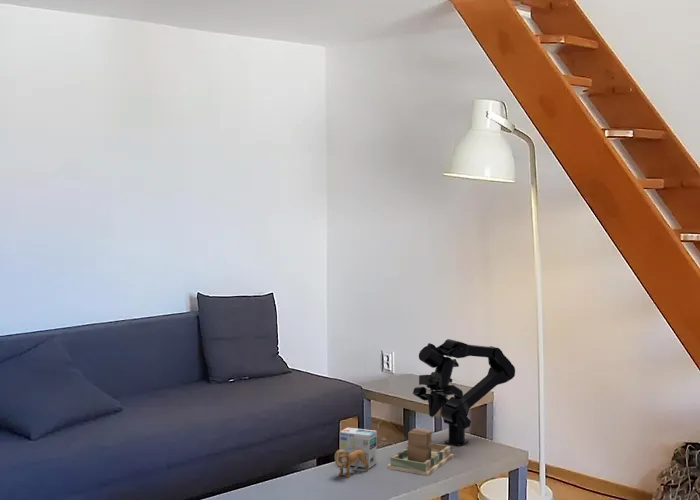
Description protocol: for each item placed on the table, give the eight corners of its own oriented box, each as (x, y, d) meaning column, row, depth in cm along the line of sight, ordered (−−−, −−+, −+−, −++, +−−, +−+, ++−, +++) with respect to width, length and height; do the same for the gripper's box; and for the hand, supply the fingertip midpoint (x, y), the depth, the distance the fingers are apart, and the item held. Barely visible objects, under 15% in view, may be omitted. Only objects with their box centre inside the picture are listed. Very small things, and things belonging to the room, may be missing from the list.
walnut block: (414, 455, 273) (414, 428, 273) (431, 458, 271) (431, 431, 270) (407, 459, 269) (408, 432, 268) (424, 462, 266) (425, 435, 266)
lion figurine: (343, 482, 253) (343, 453, 252) (330, 478, 256) (329, 449, 255) (373, 468, 264) (373, 440, 263) (360, 464, 267) (359, 437, 266)
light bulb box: (377, 463, 270) (377, 430, 269) (369, 468, 264) (370, 435, 263) (346, 459, 274) (347, 426, 274) (338, 464, 268) (339, 431, 267)
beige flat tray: (414, 450, 284) (414, 440, 283) (453, 457, 277) (453, 446, 277) (387, 468, 265) (387, 457, 265) (428, 475, 259) (428, 464, 258)
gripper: (408, 365, 290) (395, 407, 283) (447, 361, 276) (435, 406, 269) (429, 378, 295) (418, 420, 289) (468, 376, 281) (457, 419, 274)
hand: (431, 416), depth 280 cm, fingers closed
